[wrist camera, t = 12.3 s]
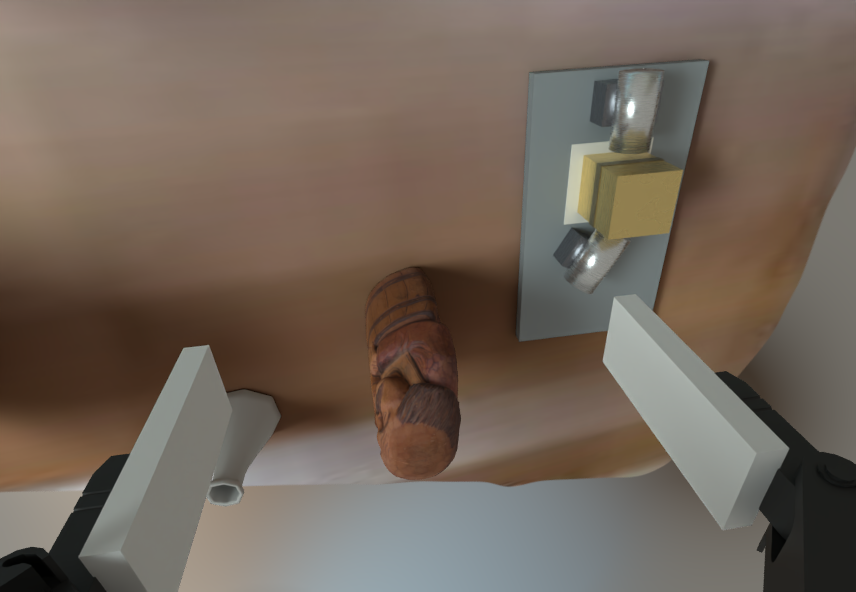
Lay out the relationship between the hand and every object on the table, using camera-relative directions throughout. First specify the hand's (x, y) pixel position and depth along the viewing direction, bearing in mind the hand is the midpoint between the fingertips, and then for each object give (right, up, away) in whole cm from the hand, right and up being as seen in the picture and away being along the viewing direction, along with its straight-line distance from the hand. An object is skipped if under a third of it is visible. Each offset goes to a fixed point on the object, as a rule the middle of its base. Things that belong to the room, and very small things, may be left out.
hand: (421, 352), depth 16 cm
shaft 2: (+15, +7, +28) cm, 33 cm away
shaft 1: (+15, +17, +22) cm, 32 cm away
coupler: (+16, +12, +25) cm, 32 cm away
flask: (-19, -10, +35) cm, 41 cm away
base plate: (+16, +9, +28) cm, 34 cm away
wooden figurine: (-3, 0, +31) cm, 31 cm away
